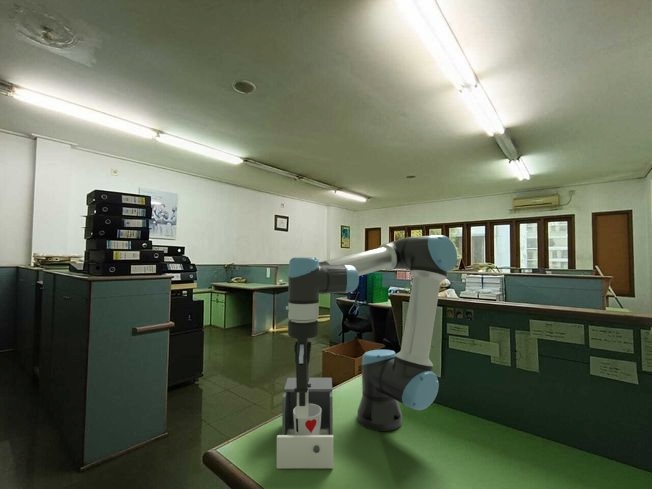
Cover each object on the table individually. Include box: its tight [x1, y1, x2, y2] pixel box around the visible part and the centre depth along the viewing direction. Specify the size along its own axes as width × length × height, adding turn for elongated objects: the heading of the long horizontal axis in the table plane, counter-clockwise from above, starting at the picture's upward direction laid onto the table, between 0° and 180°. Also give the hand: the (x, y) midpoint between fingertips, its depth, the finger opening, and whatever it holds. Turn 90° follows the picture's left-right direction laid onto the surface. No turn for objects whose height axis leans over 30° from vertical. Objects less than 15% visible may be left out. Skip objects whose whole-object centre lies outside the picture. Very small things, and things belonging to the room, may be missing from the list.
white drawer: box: [276, 429, 335, 469], centre depth 88 cm, size 14×15×8 cm
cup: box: [293, 404, 321, 435], centre depth 88 cm, size 8×8×10 cm
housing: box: [281, 377, 334, 436], centre depth 97 cm, size 14×15×15 cm
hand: (302, 416), depth 75 cm, fingers closed
